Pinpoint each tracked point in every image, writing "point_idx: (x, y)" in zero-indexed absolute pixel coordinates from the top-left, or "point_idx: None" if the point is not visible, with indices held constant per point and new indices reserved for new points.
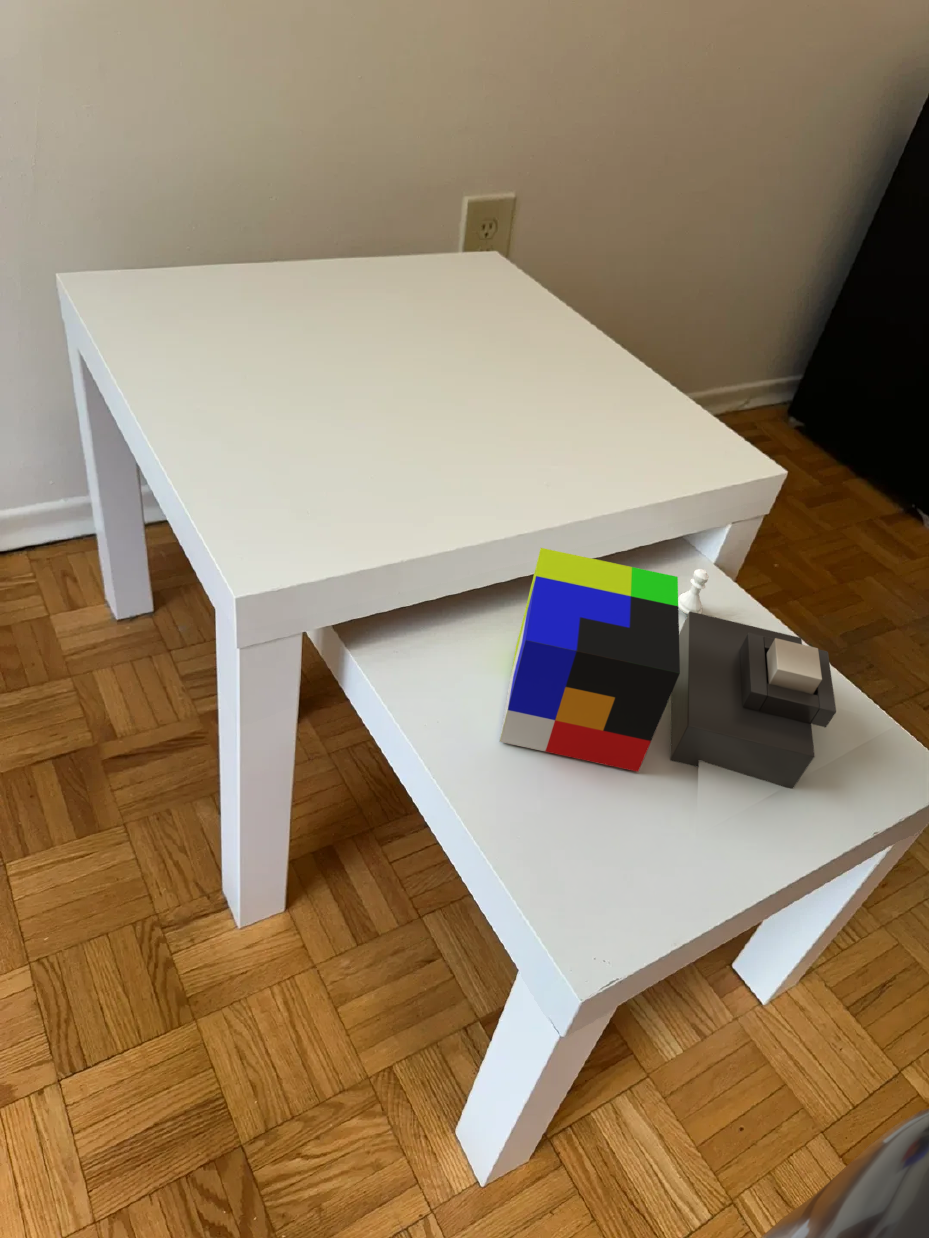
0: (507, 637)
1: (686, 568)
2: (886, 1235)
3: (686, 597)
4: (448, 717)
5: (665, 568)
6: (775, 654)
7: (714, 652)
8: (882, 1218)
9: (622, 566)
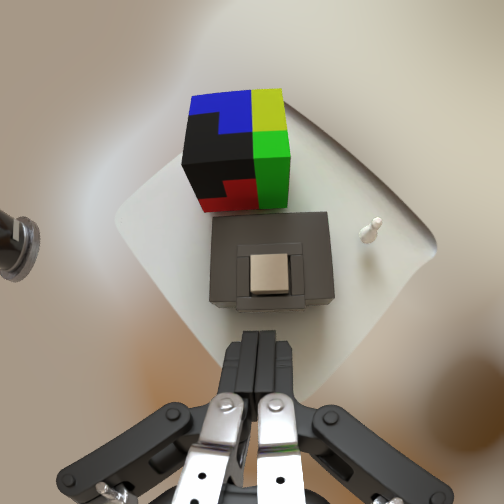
0: (300, 146)
1: (417, 241)
2: None
3: (367, 227)
4: None
5: (410, 227)
6: (268, 254)
7: (289, 230)
8: None
9: (285, 125)
